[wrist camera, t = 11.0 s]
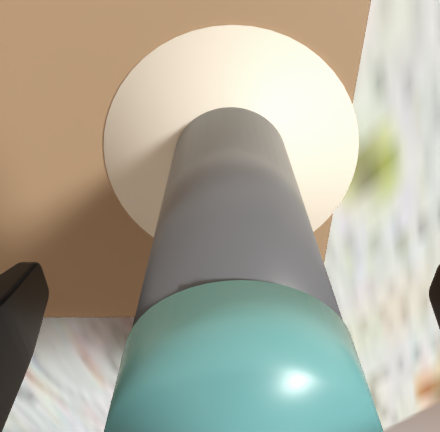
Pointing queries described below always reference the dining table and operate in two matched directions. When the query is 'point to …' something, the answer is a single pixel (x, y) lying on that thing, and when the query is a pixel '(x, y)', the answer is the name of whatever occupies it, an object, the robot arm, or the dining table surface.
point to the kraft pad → (155, 122)
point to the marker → (237, 300)
